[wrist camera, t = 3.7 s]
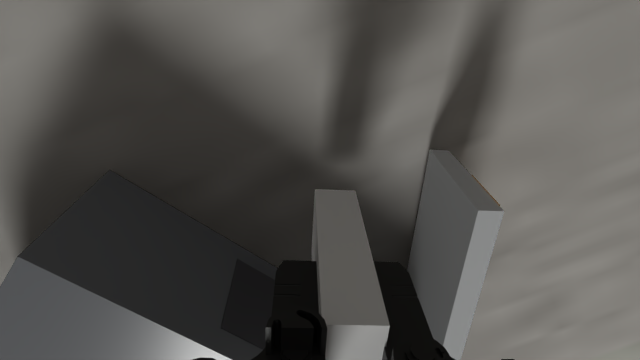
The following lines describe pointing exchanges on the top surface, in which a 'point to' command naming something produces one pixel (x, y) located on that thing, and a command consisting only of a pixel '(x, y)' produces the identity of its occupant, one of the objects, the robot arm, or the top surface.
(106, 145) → the top surface
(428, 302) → the side door
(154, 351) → the box
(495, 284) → the top surface
